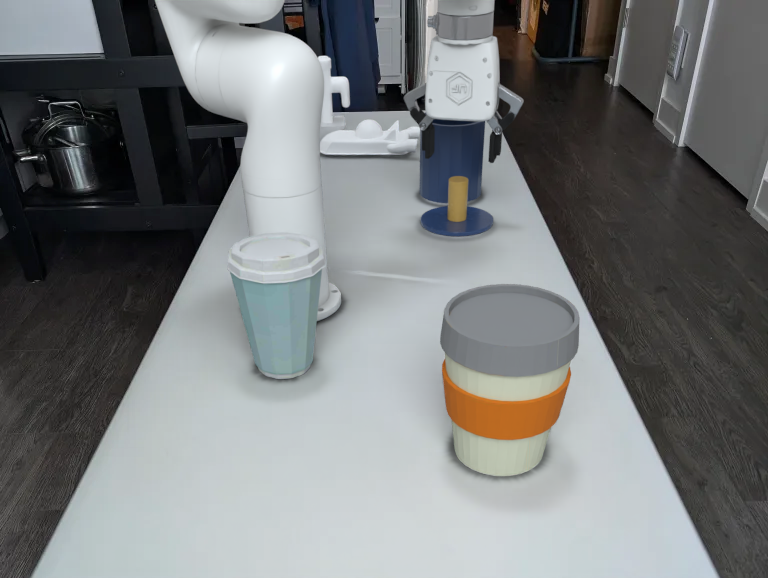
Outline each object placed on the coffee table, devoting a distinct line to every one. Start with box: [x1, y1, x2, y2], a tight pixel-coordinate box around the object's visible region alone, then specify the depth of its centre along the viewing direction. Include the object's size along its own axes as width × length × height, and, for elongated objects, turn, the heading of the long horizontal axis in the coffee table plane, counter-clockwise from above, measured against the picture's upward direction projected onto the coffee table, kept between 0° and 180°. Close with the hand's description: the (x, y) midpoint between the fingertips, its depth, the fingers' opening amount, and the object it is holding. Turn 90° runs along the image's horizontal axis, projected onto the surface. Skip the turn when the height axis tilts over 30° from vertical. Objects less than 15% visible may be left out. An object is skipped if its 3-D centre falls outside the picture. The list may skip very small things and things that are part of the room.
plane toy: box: [320, 118, 420, 156], centre depth 154 cm, size 10×20×6 cm, turn 84°
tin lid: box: [420, 176, 494, 237], centre depth 124 cm, size 11×11×7 cm
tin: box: [419, 112, 486, 205], centre depth 132 cm, size 10×10×12 cm
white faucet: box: [317, 55, 351, 142], centre depth 156 cm, size 7×9×15 cm
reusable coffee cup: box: [439, 283, 580, 477], centre depth 76 cm, size 13×12×15 cm
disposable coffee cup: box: [226, 232, 325, 380], centre depth 89 cm, size 11×11×15 cm
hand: (460, 158), depth 120 cm, fingers open, 9 cm apart
